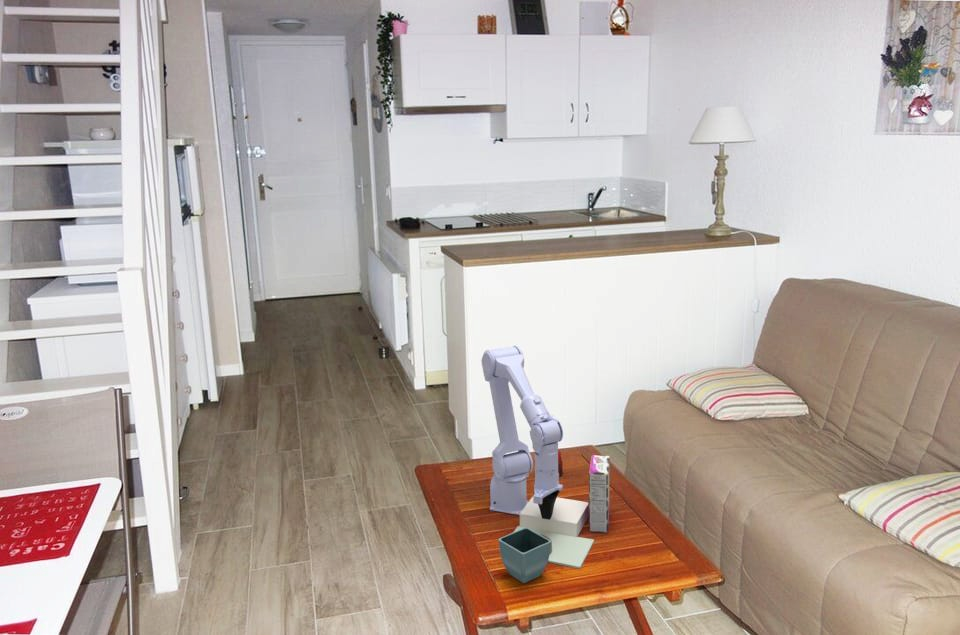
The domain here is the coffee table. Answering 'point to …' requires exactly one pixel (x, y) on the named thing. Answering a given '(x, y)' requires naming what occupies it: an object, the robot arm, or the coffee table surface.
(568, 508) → the riser
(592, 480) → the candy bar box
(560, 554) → the placemat
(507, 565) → the flower pot
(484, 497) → the coffee table surface
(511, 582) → the coffee table surface
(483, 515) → the coffee table surface
